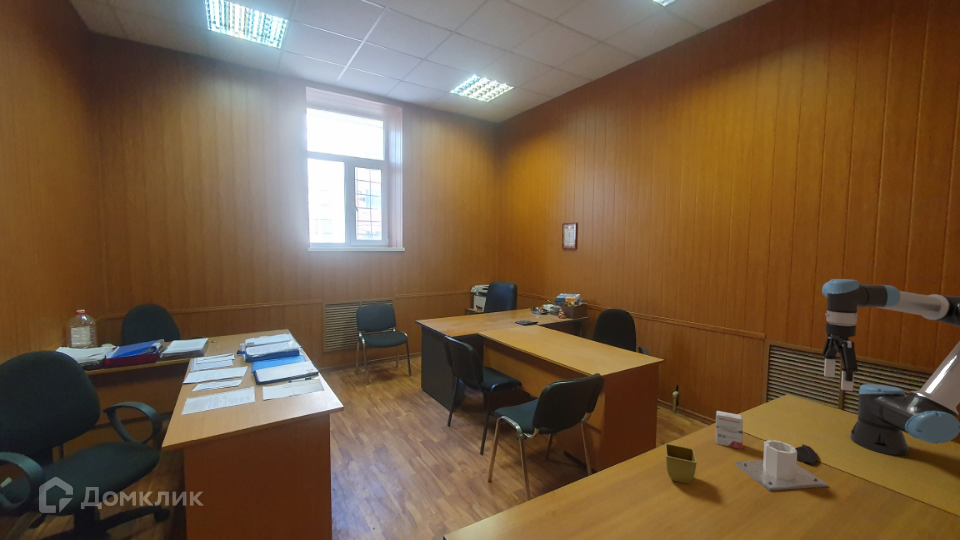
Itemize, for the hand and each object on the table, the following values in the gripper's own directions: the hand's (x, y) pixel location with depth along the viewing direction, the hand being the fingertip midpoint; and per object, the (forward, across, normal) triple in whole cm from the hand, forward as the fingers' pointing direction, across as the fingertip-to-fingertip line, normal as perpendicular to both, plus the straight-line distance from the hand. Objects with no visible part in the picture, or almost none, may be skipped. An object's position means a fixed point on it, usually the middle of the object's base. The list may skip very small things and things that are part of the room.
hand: (837, 383), depth 130 cm
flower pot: (+29, +33, -50) cm, 67 cm away
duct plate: (+29, +17, -20) cm, 39 cm away
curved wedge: (+29, 0, -8) cm, 30 cm away
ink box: (+29, +1, -32) cm, 43 cm away
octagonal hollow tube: (+28, +17, -20) cm, 38 cm away
